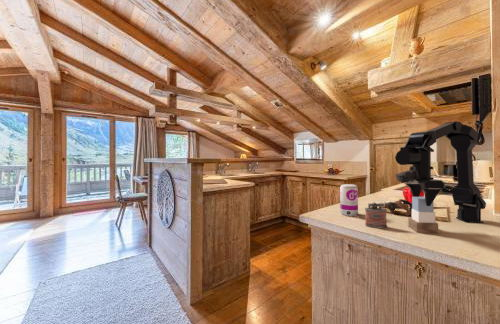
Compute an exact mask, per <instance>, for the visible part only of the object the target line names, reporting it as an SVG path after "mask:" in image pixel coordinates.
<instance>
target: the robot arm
mask: <svg viewBox="0 0 500 324" xmlns="http://www.w3.org/2000/svg"><path fill="white" fill-rule="evenodd" d="M443 137H445V138H447V139H448V140H449V141H450V146H451V147H452V148H453V149H454V150H455V153H456V170H457V172H456V173H457V184H456V185H455V186H454V187H452V190H451V191H452V196H451V197H452V199H453V204H454V206H458V208H457V216H456V219H458V220H460V221H462V222H465V223H475V224H476V223H479V224H480V223H481V224H484V223H485V222H484V220H482V210H485V209H486V207H487V203H486V201H485V200H484V199H483V197H482V196H481V192H480V188H479V187H478V186H477V185H476V184H475V181H474V164H473V162H474V161H473V149H474V148H475V147H476V145H477V144H478V138H479V132H478V131H477V130H476V129H474V127H472V126H469V125H466V124H464V123H462V122H461V121H457V120H455V121H448V122H447V121H446V122H445V123H443V124H440V125H437V126H435V127H433V128H431V129H429V130H424V131H417V132H412V133H411V134H410V135H409V137H408V138H407V140H406V143H405V145H404V146H403V147H402V146H401V147H399V150H398V151H397V153H396V154H395V157H394V159H395V161H396V164H399V165H400V166H408V165H409V168H408V170H405V171H403V172H398V173H397V174H395V177H396V179H397V181H398V183H401V184H404V185H406V186H407V187H408V188H409V190H410V193H411V195H412V197H421V193H422V192H423V193H424V195H423V196H424V197H425V201H426V206H430V205H431V204H432V202H433V203H434V201H435V199H436V197H437V196H438V195H439V193H441V191H443V189H445V188H446V183H445V182H444V181H443V180H441V179H437V178H436V179H435V178H434V176H433V177H432V170H434V166H432V165H431V163H432V159H431V158H432V154H431V153H434V152H435V150H434V149H433V148H432V146H433V145H435V143H437V141H438V139H440V138H443ZM411 165H412V166H411Z"/></svg>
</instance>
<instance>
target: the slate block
mask: <svg viewBox="0 0 500 324" xmlns="http://www.w3.org/2000/svg"><path fill="white" fill-rule="evenodd" d="M411 203H412V209H414V210H416V211H418V212H434V201H433V202H432V204H431V205H430V206H426V201H425V196H419V197H413V196H412V197H411Z"/></svg>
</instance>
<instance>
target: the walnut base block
mask: <svg viewBox="0 0 500 324" xmlns="http://www.w3.org/2000/svg"><path fill="white" fill-rule="evenodd" d="M407 223H408V228H410V229H411V230H413V231H414V232H416V233H417V234H418V233H419V234H421V233H422V234H437V235H438V234H439V223H438V222H436V221H435V223H418V222H417V221H415V220H413V219H412V217H408V222H407Z"/></svg>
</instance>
